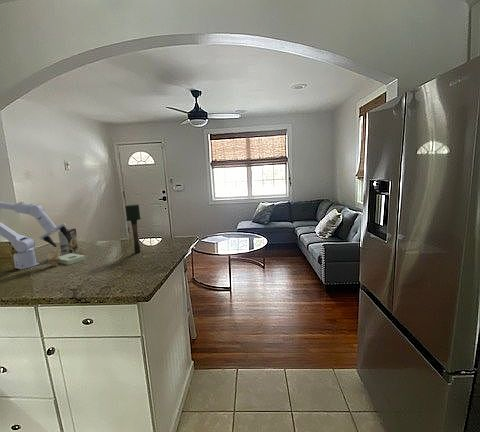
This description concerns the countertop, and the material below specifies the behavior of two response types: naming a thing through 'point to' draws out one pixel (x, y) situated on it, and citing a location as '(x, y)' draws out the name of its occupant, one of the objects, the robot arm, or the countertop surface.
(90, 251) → the countertop surface
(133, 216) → the stick grenade
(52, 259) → the peg
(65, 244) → the coffee box
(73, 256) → the board
